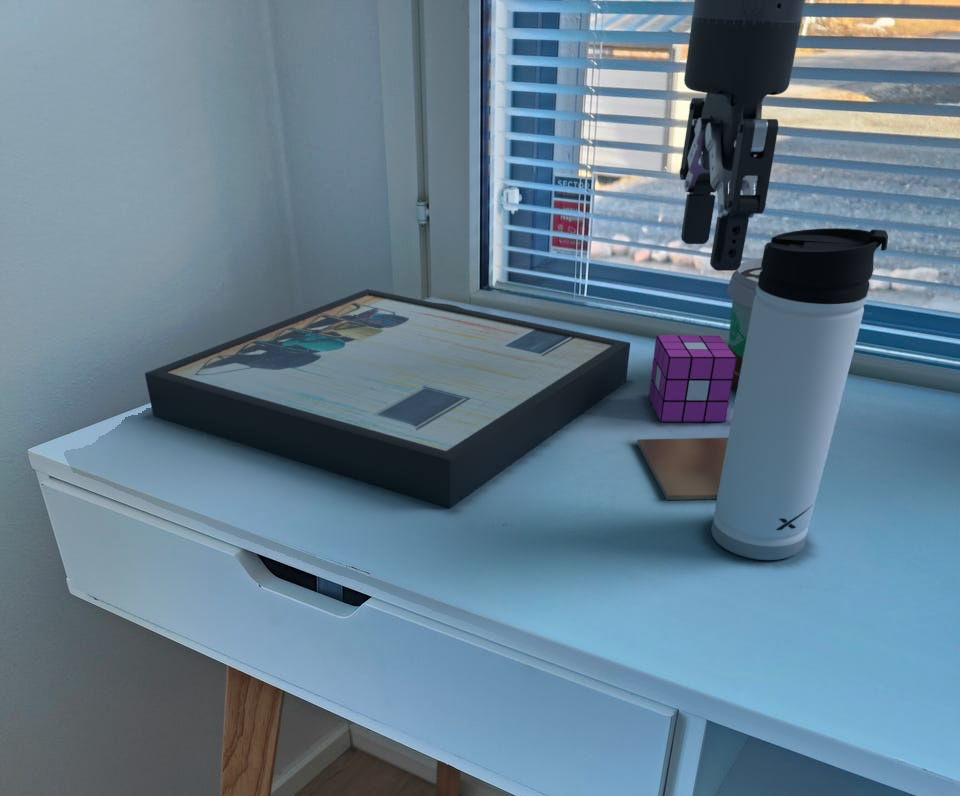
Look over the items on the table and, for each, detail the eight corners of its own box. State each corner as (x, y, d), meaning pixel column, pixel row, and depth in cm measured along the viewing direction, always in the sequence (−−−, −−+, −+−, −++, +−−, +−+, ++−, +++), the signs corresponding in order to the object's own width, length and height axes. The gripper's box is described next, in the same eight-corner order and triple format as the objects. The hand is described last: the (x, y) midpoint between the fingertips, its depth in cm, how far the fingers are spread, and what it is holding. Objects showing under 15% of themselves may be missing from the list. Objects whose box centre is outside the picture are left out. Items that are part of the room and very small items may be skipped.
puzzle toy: (660, 422, 80) (669, 357, 77) (648, 397, 85) (656, 334, 81) (725, 422, 80) (737, 357, 77) (709, 397, 85) (720, 335, 82)
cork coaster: (755, 441, 77) (755, 437, 77) (798, 497, 69) (799, 492, 69) (636, 443, 77) (637, 439, 76) (666, 500, 68) (667, 495, 68)
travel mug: (805, 570, 61) (889, 246, 49) (703, 551, 63) (761, 234, 51) (812, 527, 66) (890, 222, 54) (717, 510, 67) (773, 212, 56)
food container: (695, 361, 93) (712, 256, 87) (755, 360, 93) (775, 255, 88) (736, 409, 83) (758, 294, 77) (803, 407, 83) (829, 293, 78)
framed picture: (367, 288, 98) (630, 342, 86) (369, 324, 101) (626, 382, 88) (144, 373, 77) (449, 460, 65) (153, 415, 80) (450, 508, 67)
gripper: (838, 19, 60) (784, 280, 70) (765, 10, 71) (727, 235, 81) (725, 16, 59) (686, 280, 69) (669, 8, 71) (642, 234, 80)
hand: (708, 255), depth 75 cm, fingers open, 8 cm apart
